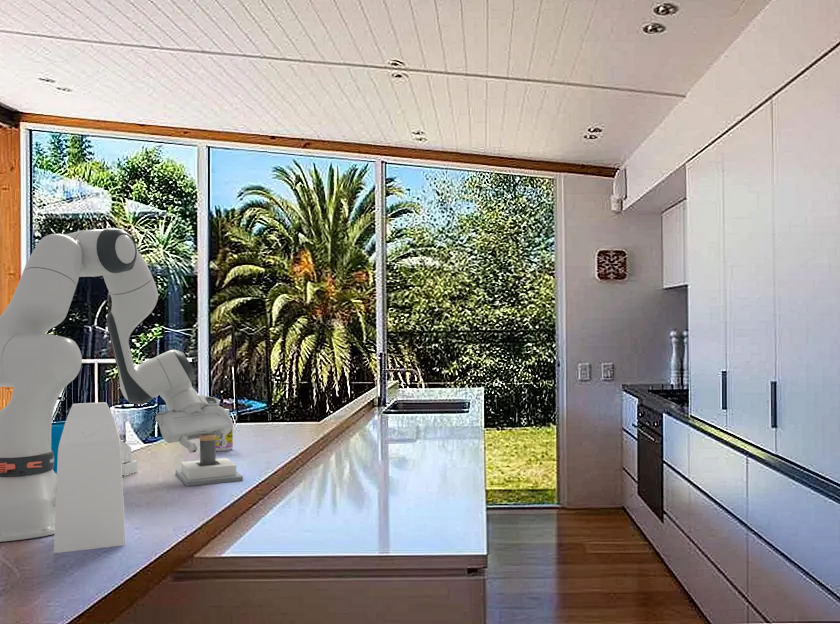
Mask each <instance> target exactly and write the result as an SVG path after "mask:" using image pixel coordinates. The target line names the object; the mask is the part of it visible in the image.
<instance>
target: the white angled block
mask: <svg viewBox="0 0 840 624" xmlns="http://www.w3.org/2000/svg"><path fill="white" fill-rule="evenodd" d="M120 446H121V464H122V475H127V474H130V475H132V474H131V473H133V474H135V473H134V472H136V473H138V460H132V447H131V446H130V445H128V444H127V443H125V442H124V441H123V440H121V439H120Z"/></svg>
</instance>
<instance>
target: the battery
mask: <svg viewBox="0 0 840 624" xmlns="http://www.w3.org/2000/svg"><path fill="white" fill-rule="evenodd" d="M216 452H217V451H216V434H214V433H206V434H200V439H199V460H200V466H209V465H216V459H217V457H216V456H217V455H216V454H217V453H216Z"/></svg>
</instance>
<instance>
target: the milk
mask: <svg viewBox="0 0 840 624" xmlns="http://www.w3.org/2000/svg"><path fill="white" fill-rule="evenodd" d="M113 415H114V414H113V412H112V411H111V408H110V407H109V405H108V403H107V402H106V401H105V402H100V401H99V402H86V403H85V402H83V403H82V402H81V403H72V405H71V407H70V410H69V411H68V415H67V417H66V419H65V422H64V425H63V430H62V431H61V435H60V439H59V443H58V448H57V461H56V462H57V463H56V465H57V466H56V474H57V485H56V510H55V534H53V535H54V539H53V541H54V542H53V554H59V553H67V552H69V553H70V552H77V551H85V550H94V549H95V550H96V549H103V548H104V549H105V548H111V547H112V548H113V547H120V546H121V547H122V546H126V522H125V521H126V520H125V505H124V487H123V486H124V485H123V482H124V481H123V476H122V464H121V446H120V440H121V437H120V432H119V429H118V425H117V422H116V420H115V416H113Z"/></svg>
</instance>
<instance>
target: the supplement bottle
mask: <svg viewBox="0 0 840 624" xmlns="http://www.w3.org/2000/svg"><path fill="white" fill-rule="evenodd" d="M224 409H225V411H226V412H227V413H228V415H229V414H230V409H229V408H224ZM229 417H230V418H231V420H232V421H233V419H232V417H231V416H230V415H229ZM233 433H234V431H233V427H232V429H231V431H230V432H229V433H228V434H226V435H225V440H226V441H227V445H226V447H222V448H220V446H219V445H218V442H219V441H220V438H218V437H217V436H216V452H227V451H231V450H233V447H234V445H233V444H234V443H233V442H234V441H233V437H234V434H233Z"/></svg>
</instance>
